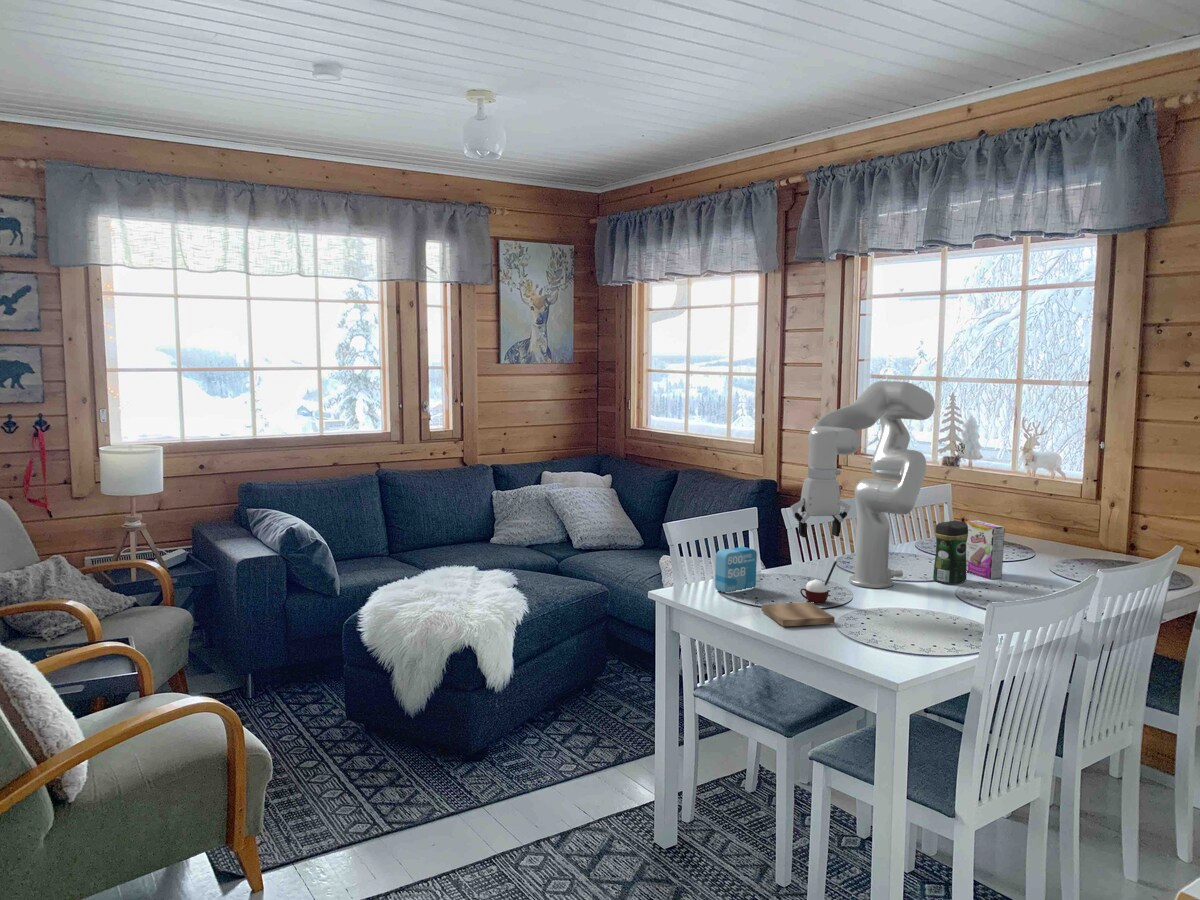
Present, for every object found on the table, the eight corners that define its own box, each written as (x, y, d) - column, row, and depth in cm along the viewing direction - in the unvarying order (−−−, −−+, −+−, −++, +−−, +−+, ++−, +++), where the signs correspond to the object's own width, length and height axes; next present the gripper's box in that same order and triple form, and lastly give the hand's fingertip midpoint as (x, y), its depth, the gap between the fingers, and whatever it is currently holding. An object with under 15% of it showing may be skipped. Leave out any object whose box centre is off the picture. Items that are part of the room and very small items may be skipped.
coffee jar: (947, 576, 280) (950, 517, 278) (970, 582, 273) (973, 521, 271) (927, 580, 275) (930, 520, 273) (950, 586, 268) (953, 525, 266)
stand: (810, 609, 243) (810, 602, 243) (834, 624, 229) (834, 617, 229) (761, 612, 240) (761, 604, 240) (782, 628, 226) (783, 620, 226)
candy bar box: (963, 571, 286) (966, 520, 285) (975, 570, 288) (978, 519, 286) (990, 580, 276) (993, 527, 274) (1002, 578, 278) (1005, 526, 276)
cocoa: (797, 602, 251) (796, 560, 250) (810, 597, 255) (809, 555, 254) (827, 608, 244) (826, 564, 243) (839, 603, 248) (839, 560, 247)
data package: (724, 595, 256) (725, 553, 255) (714, 591, 260) (715, 550, 259) (756, 589, 263) (757, 548, 262) (745, 585, 267) (746, 545, 265)
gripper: (844, 472, 251) (841, 532, 253) (786, 472, 248) (784, 534, 249) (857, 475, 244) (854, 538, 246) (798, 476, 240) (795, 539, 242)
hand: (819, 536), depth 248 cm, fingers open, 9 cm apart
